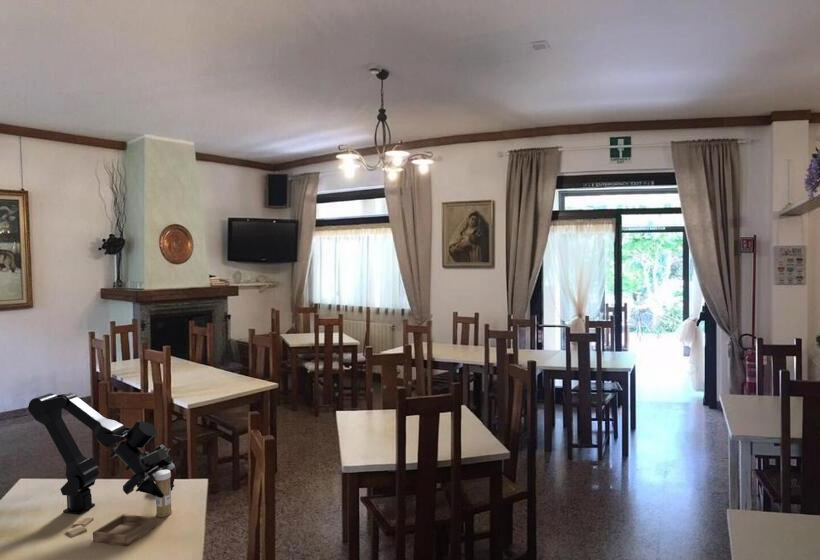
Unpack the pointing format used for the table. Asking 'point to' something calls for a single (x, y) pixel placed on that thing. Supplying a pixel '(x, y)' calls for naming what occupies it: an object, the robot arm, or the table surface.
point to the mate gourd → (172, 470)
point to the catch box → (124, 529)
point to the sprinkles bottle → (164, 485)
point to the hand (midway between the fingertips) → (167, 493)
